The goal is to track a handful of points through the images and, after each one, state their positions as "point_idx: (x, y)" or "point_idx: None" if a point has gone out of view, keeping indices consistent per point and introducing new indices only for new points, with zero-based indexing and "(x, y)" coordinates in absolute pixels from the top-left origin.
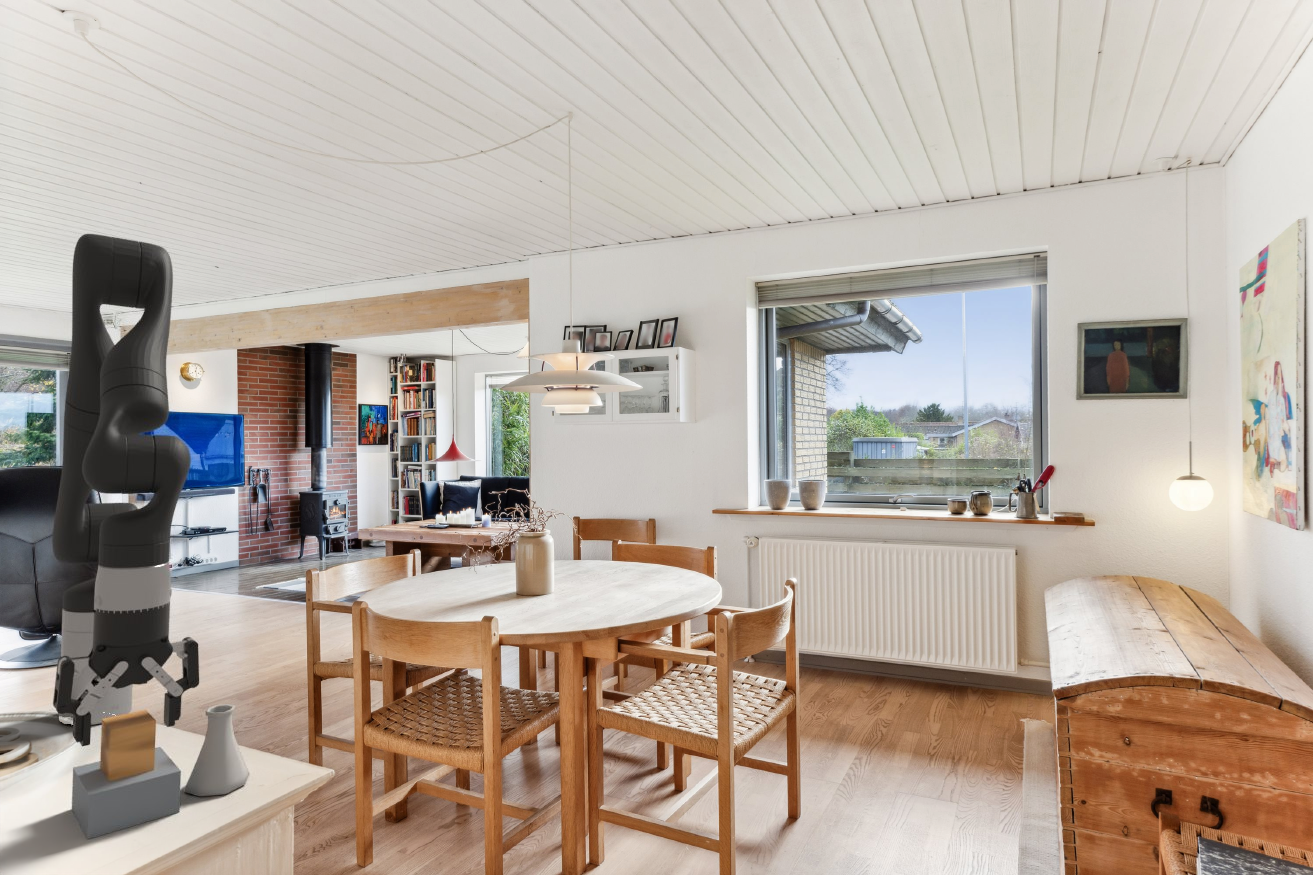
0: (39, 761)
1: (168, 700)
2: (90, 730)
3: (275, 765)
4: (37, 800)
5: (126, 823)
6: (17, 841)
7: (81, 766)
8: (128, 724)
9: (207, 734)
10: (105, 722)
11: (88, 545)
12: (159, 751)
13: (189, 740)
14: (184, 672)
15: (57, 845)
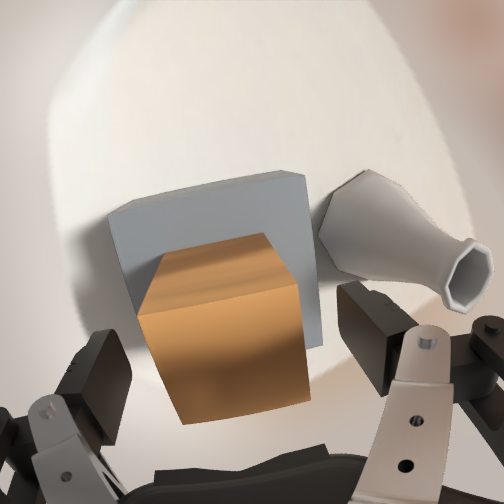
0: None
1: (376, 377)
2: (124, 403)
3: (449, 200)
4: (80, 131)
5: None
6: (77, 286)
7: (123, 218)
8: (231, 405)
9: (409, 267)
10: (155, 359)
11: None
12: (300, 208)
13: None
14: (496, 372)
15: (132, 328)
